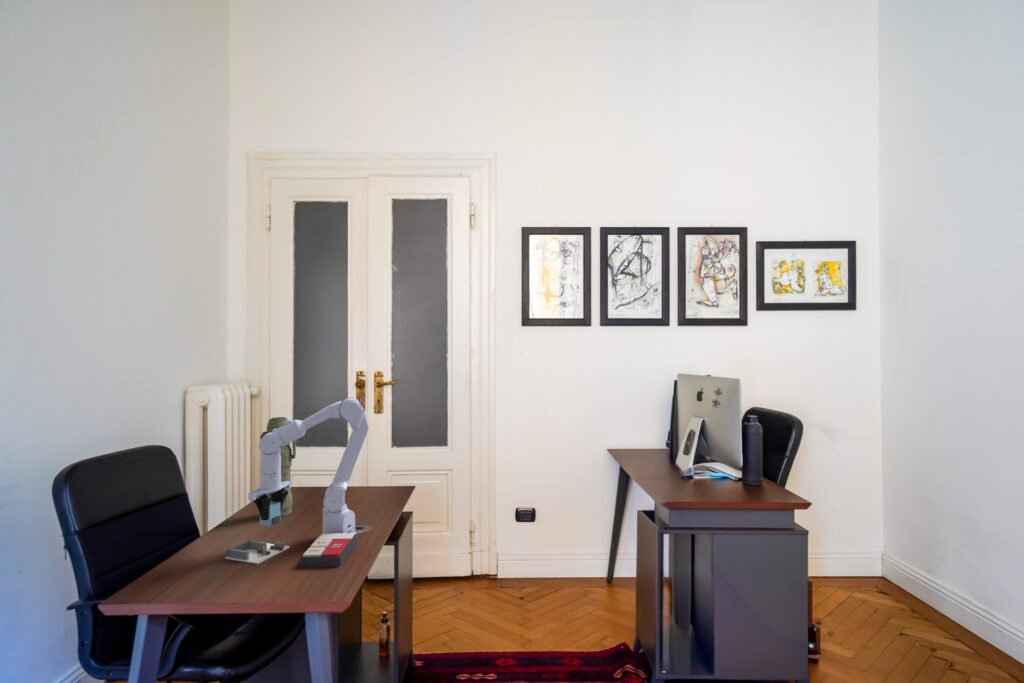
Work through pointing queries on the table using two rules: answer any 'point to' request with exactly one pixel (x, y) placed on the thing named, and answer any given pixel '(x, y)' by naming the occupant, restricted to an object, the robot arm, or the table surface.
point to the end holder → (240, 549)
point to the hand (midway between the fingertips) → (270, 517)
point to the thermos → (283, 462)
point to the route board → (263, 553)
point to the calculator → (329, 550)
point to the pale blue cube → (272, 514)
